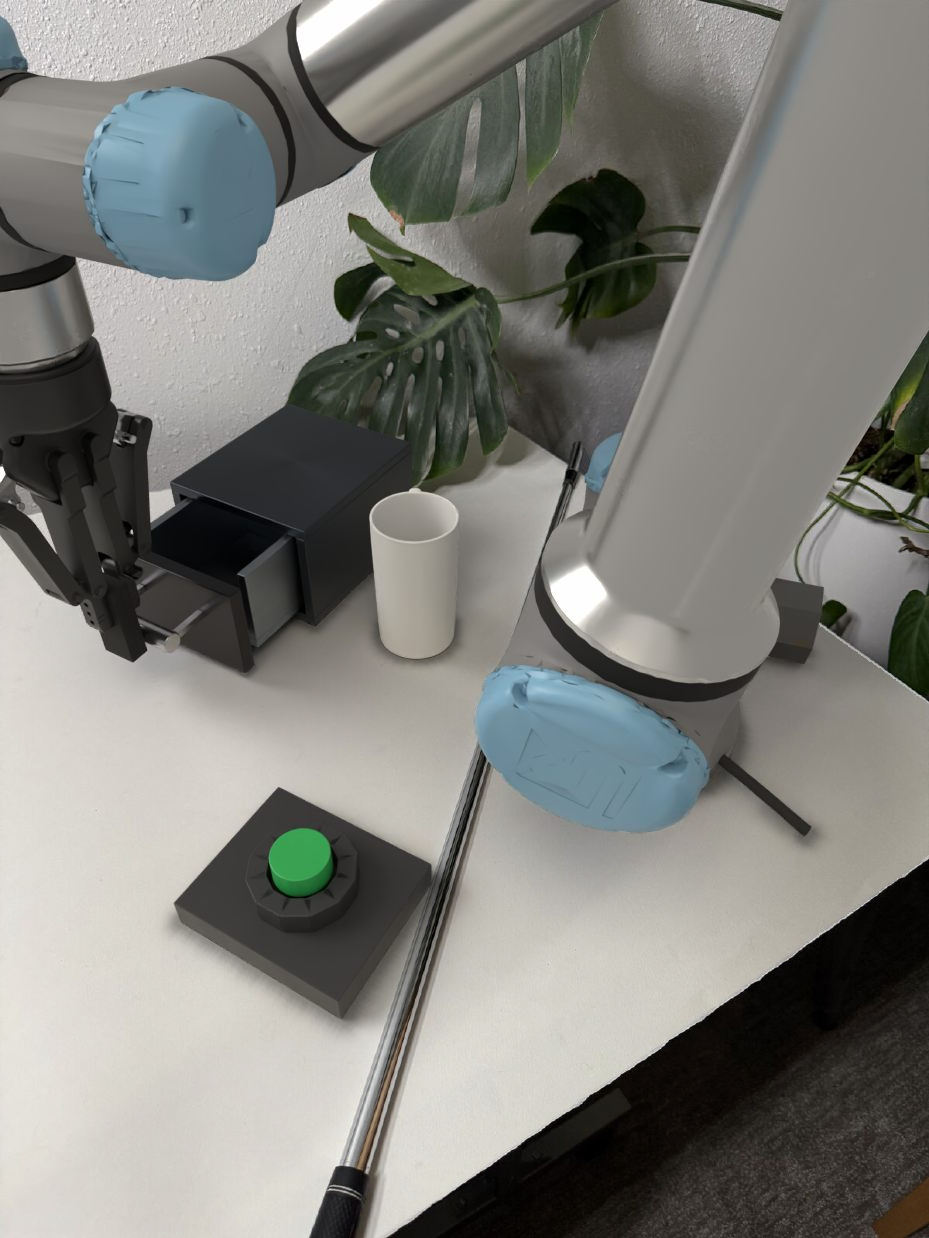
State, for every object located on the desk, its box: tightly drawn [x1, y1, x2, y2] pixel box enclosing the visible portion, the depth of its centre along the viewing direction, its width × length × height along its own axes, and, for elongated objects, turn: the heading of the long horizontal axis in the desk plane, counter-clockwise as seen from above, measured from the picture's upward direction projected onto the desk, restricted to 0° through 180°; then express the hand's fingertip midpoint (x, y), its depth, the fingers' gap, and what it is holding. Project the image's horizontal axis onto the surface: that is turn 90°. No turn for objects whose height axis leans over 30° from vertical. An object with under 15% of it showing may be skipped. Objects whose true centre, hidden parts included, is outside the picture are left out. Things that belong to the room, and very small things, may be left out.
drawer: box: [135, 497, 305, 675], centre depth 72 cm, size 19×13×8 cm, turn 151°
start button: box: [269, 828, 333, 897], centre depth 52 cm, size 4×4×2 cm
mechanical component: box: [767, 577, 825, 665], centre depth 73 cm, size 10×18×10 cm
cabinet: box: [169, 403, 414, 627], centre depth 79 cm, size 16×14×10 cm
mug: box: [370, 487, 460, 660], centre depth 71 cm, size 10×7×12 cm, turn 2°
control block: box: [173, 786, 433, 1020], centre depth 54 cm, size 12×10×4 cm
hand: (126, 650), depth 65 cm, fingers closed
